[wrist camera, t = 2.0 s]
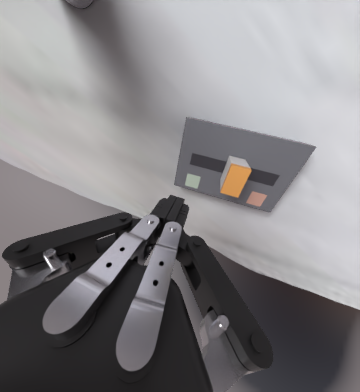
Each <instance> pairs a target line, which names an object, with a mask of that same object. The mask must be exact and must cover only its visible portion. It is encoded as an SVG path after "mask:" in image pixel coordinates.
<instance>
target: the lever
mask: <svg viewBox="0 0 360 392" xmlns="http://www.w3.org/2000/svg"><path fill="white" fill-rule="evenodd" d="M251 171H252V170H251V168H250V166H249V165H248V163H247V161H246V160H245V159H241V158H237V157H233V156H229V158H228V160H227V163H226V166H225V168H224V171H223V174H222V176H221V179H220V193H223V194H227V195H230V196H234V197H237V198H238V197H239V195H240V193H241V191H242V189H243V187H244V185H245V183H246V181H247V179H248V177H249V175H250V173H251Z"/></svg>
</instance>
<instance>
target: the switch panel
mask: <svg viewBox="0 0 360 392" xmlns="http://www.w3.org/2000/svg"><path fill="white" fill-rule="evenodd" d="M315 148H316V147H315V146H312V145H309V144H306V143H302V142H297V141H293V140H289V139H284V138H280V137H275V136H271V135H266V134H262V133H257V132H253V131H249V130H244V129H240V128H235V127H231V126H226V125H222V124H217V123H213V122H209V121H204V120H200V119H195V118H191V117H186V122H185V128H184V133H183V139H182V144H181V150H180V155H179V161H178V166H177V172H176V177H175V183H174V185H176V186H180V187H183V188H187V189H190V190H194V191H197V192H201V193H204V194H208V195H211V196H214V197H218V198H221V199H225V200H228V201H232V202H235V203H239V204H242V205H246V206H249V207H252V208H256V209H259V210H263V211H266V212H271V211H272V209H273V208H274V206H275V205H276V203H277V202H278V201H279V199H280V198H281V196H282V195H283V194H284V192H285V191H286V189H287V188H288V186H289V185H290V184H291V182H292V181H293V179H294V178H295V177H296V175H297V174H298V172H299V171H300V169H301V168H302V167H303V165H304V164H305V162H306V161H307V160H308V158H309V157H310V155H311V154H312V152H313V151H314V150H315ZM229 156H233V157H237V158H241V159H245V160H246V161H247V163H248V165H249V166H250V168H251V170H252V171H251V173H250V175H249V177H248V179H247V181H246V183H245V185H244V187H243V189H242V191H241V193H240V195H239V197H238V198H237V197H234V196H230V195H227V194H223V193H220V179H221V176H222V174H223V171H224V168H225V166H226V163H227V160H228V158H229Z"/></svg>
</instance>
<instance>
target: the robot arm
mask: <svg viewBox="0 0 360 392" xmlns="http://www.w3.org/2000/svg"><path fill="white" fill-rule="evenodd" d="M66 1H67V2H68V3H70V4H71V5H73V6H75V7H76V8H85V7H87V6H89V5H90V4H91V3H92V1H93V0H66ZM184 200H185V199H183V198H179V197H176V196H173V195H170V196H169V197H168V199H166V198H163V199H161V200H160V201H159V202H158V204H157V205H156V206H155V208H154V209H153V211H152V212H151V213H150V215H146V216H144V217H143V218H142V219H132V215H131V214H129V213H125V212H123V213H119V214H115V215H111V216H107V217H104V218H100V219H97V220H93V221H89V222H86V223H82V224H78V225H74V226H71V227H67V228H63V229H60V230H56V231H53V232H49V233H45V234H41V235H37V236H34V237H30V238H26V239H23V240H20V241H17V242H15V243H13V244H11V245H10V246H8V247H7V248H6V249H5V250H4V252H3V254H2V257H3V258H4V259H5V261H6V262H7V263H8V264H9V266H10V268H11V269H12V276H11V282H10V288H9V293H8V298H7V301H5V302H4V303H2V304H1V305H0V392H226V391H227V390H228V389H229V388H230V387H231V386H233V384H235V383H236V382H237V381H238V380H239V379H240V378H241V377H242V376H244V375H245V374H249V373H253V372H256V371H260V370H263V369H267V368H269V367H270V366H271V364H272V362H273V351H272V347H271V344H270V342H269V340H268V338H267V336H266V335H265V333H264V332H263V330H262V329H261V327H260V326H259V324H258V322H257V321H256V319H255V318H254V316H253V315H252V313H251V312H250V310H249V309H248V307H247V306H246V304H245V303H244V301H243V299H242V298H241V296H240V295H239V293H238V292H237V290H236V289H235V288H234V286H233V284H232V283H231V281H230V280H229V278H228V276H227V275H226V273H225V272H224V270H223V269H222V267H221V266H220V264H219V263H218V261H217V260H216V258H215V257H214V255H213V254H212V252H211V250H210V249H209V247H208V246H207V244H206V243H205V241H204V240H203V239H202V238H200V237H198V236H191V237H190V236H188V235H187V234H186V233H185V232H184V230H183V227H184V224H185V221H186V218H187V214H188V211H189V207H188V205H185V204H184ZM112 233H115V234H114V235H111V236H108V237H105V238H103V239H100V240H97V239H98V238H101V237H104V236H106V235H109V234H112ZM159 237H160V240H159V243H158V244H156V242H157V240H158V238H159ZM155 245H156V246H155ZM154 247H155V249H154V251H153V254H152V257H151V259H150V261H149V264H148V266H144V263H145V261H146V260H147V258H148V256H149V255H150V253H151V251H152V250H153V248H154ZM175 259H177V260H178V261H179V262H181V267H182V269H183V272H184V274H185V276H186V279H187V281H188V283H189V286H190V288H191V290H192V293H193V295H194V297H195V300H196V302H197V304H198V307H199V309H200V311H201V314H202V316H203V320H202V322H201V324H200V337H201V340H202V348H203V349H202V354H201V351H200V348H199V345H198V342H197V339H196V336H195V333H194V330H193V327H192V324H191V321H190V318H189V315H188V312H187V309H186V306H185V303H184V300H183V297H182V294H181V291H180V289H179V287H178V286H177V284H176V283H175V281H174V280H173V279H172V278H171V275H172V271H173V266H174V262H175Z"/></svg>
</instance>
